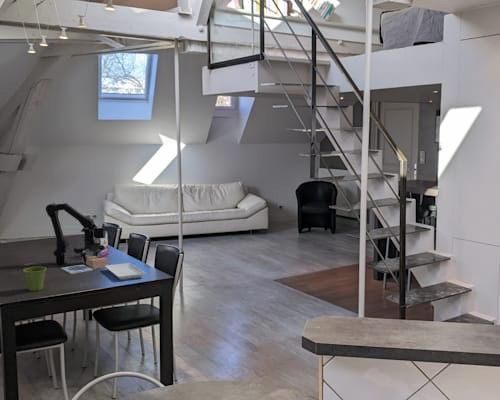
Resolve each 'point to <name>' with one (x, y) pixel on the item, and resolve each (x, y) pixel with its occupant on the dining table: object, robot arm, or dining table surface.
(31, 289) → the plant pot
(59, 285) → the dining table surface
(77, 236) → the dining table surface
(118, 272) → the tray
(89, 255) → the brick
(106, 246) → the candy bar box
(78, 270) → the blueprint board
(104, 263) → the brick
